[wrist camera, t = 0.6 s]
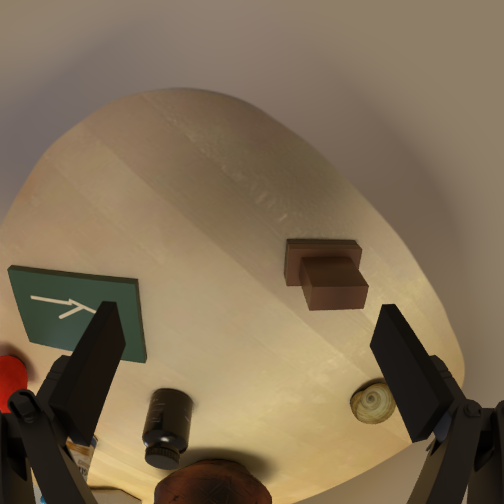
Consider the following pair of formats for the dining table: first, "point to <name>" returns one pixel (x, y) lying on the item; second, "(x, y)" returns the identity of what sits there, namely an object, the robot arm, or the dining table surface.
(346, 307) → the duster
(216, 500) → the bowl
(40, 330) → the chalkboard
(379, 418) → the seashell
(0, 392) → the apple
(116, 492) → the tank
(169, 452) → the supplement bottle
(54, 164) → the dining table surface
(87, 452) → the beverage bottle
